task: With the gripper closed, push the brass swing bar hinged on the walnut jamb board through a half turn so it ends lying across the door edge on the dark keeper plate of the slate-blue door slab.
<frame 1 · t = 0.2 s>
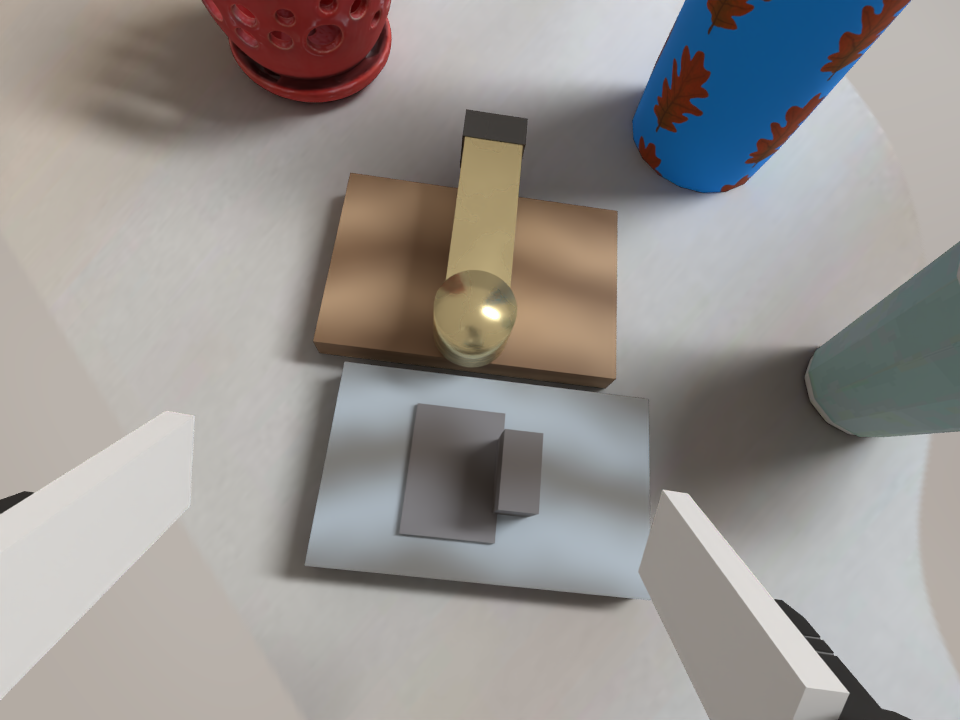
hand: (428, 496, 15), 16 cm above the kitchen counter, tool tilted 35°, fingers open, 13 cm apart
swing bar: (482, 235, 31), point 5 cm above the kitchen counter, hinge at 0.0°
disposable coffee cup: (849, 389, 35), on the kitchen counter
plant pot: (315, 60, 40), on the kitchen counter
door and jamb: (467, 348, 34), on the kitchen counter
thermos: (695, 138, 41), on the kitchen counter
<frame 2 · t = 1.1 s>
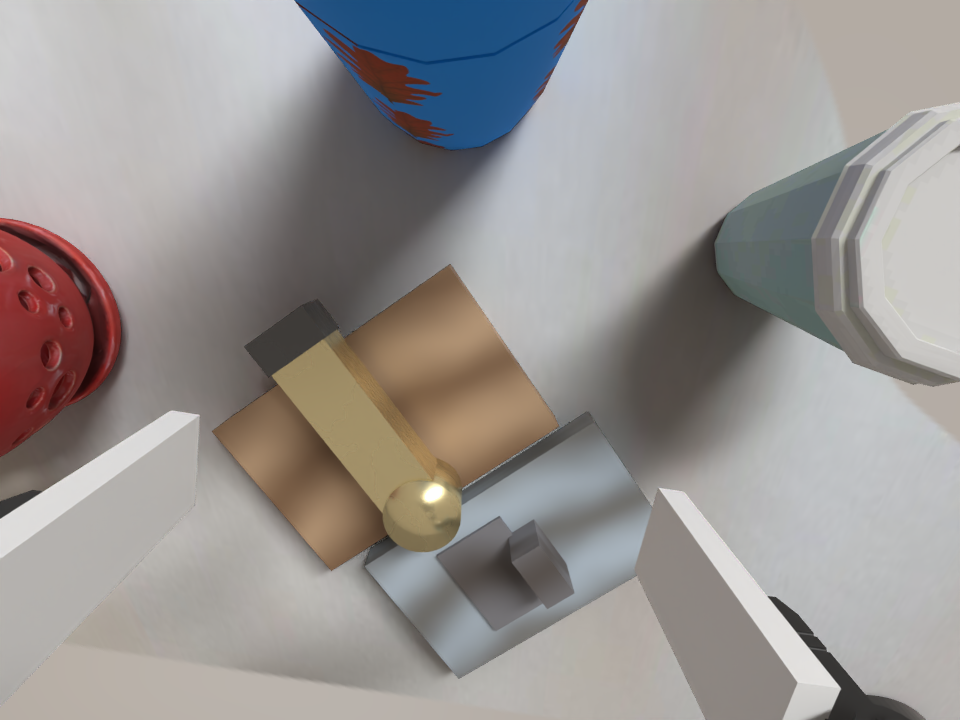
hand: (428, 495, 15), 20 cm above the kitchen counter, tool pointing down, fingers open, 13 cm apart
swing bar: (368, 431, 30), point 5 cm above the kitchen counter, hinge at 0.0°
disposable coffee cup: (764, 242, 33), on the kitchen counter
plant pot: (47, 319, 33), on the kitchen counter
door and jamb: (430, 469, 36), on the kitchen counter
thermos: (455, 53, 30), on the kitchen counter
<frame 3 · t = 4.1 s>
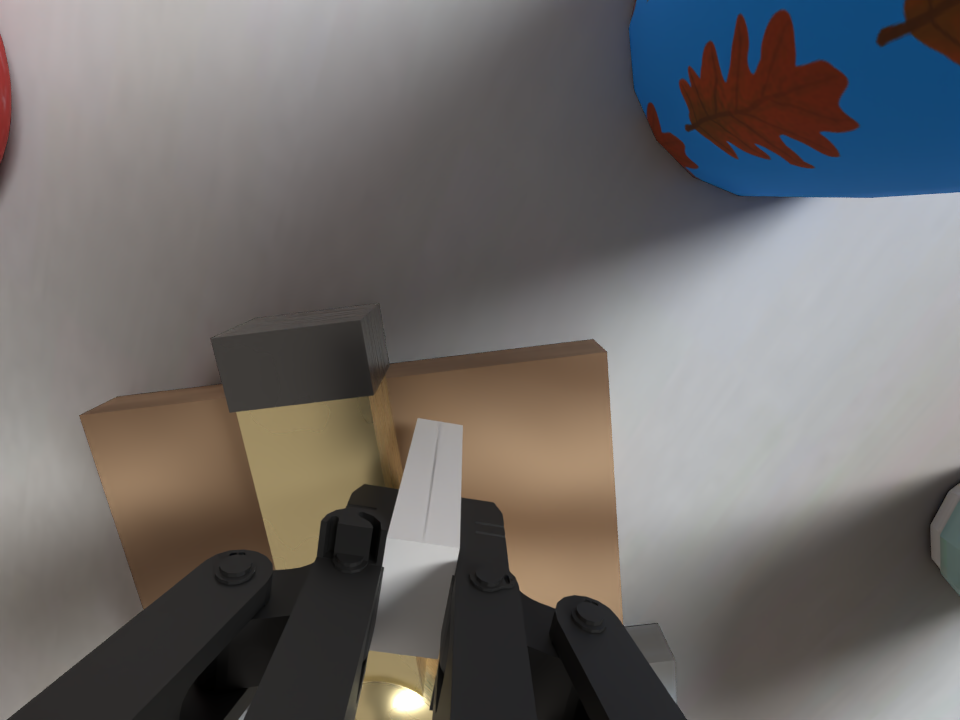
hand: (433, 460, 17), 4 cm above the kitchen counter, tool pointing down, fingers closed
swing bar: (353, 557, 17), point 5 cm above the kitchen counter, hinge at 0.0°, touching gripper
door and jamb: (398, 604, 22), on the kitchen counter
thermos: (783, 34, 17), on the kitchen counter
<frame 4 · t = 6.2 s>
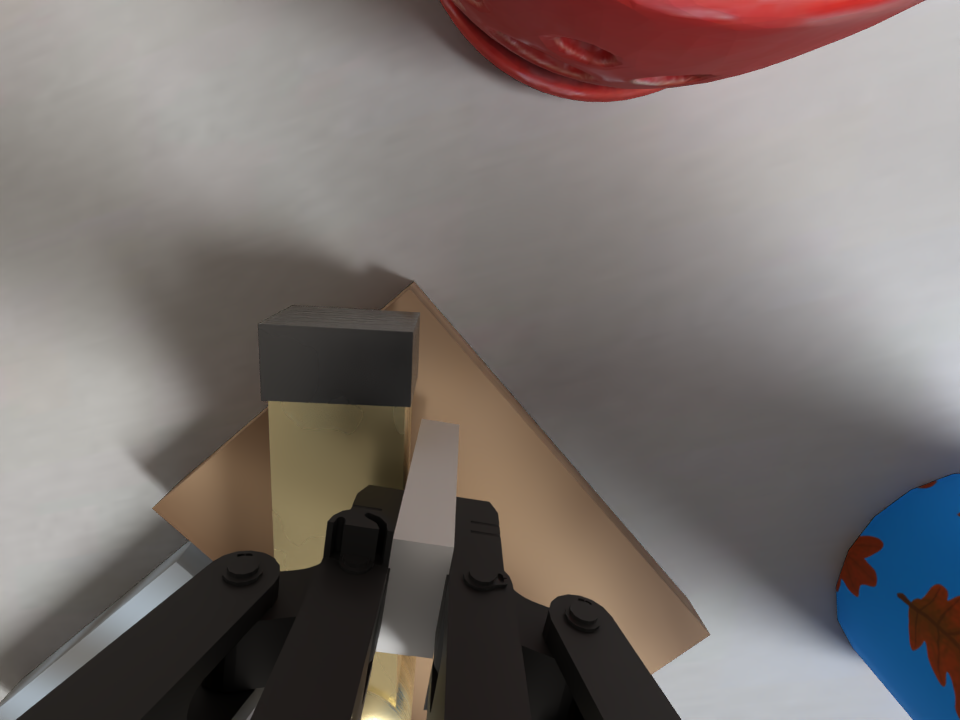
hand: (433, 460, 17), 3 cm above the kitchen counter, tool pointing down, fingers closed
swing bar: (347, 558, 17), point 5 cm above the kitchen counter, hinge at 46.8°, touching gripper
door and jamb: (368, 605, 22), on the kitchen counter
thermos: (946, 575, 24), on the kitchen counter
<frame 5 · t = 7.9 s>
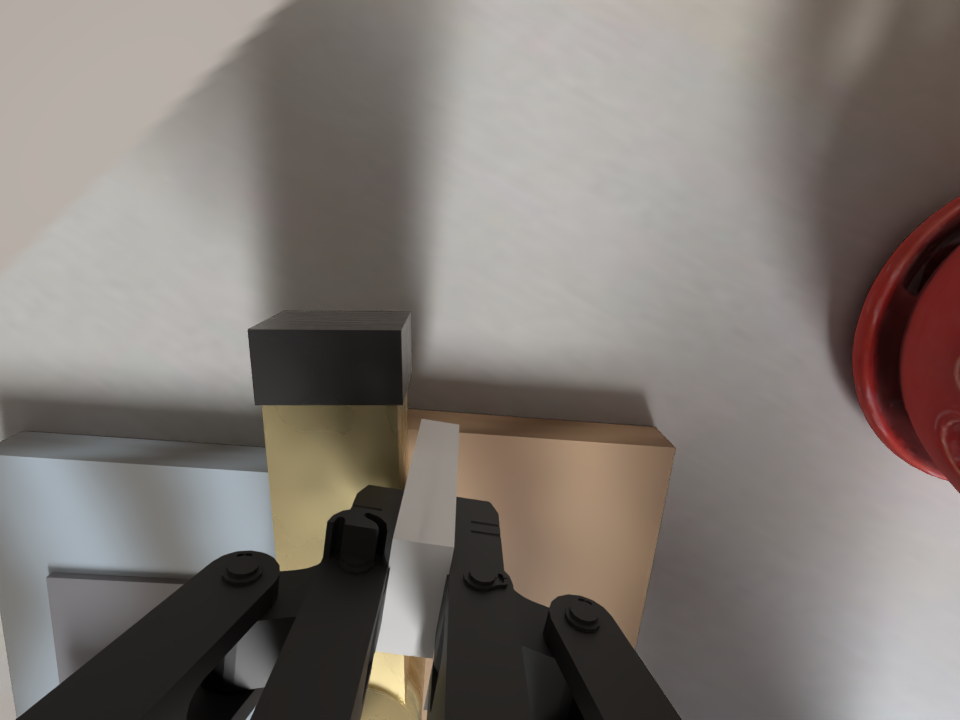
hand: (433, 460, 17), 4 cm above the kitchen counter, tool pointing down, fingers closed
swing bar: (351, 559, 17), point 4 cm above the kitchen counter, hinge at 94.6°, touching gripper
door and jamb: (377, 607, 22), on the kitchen counter
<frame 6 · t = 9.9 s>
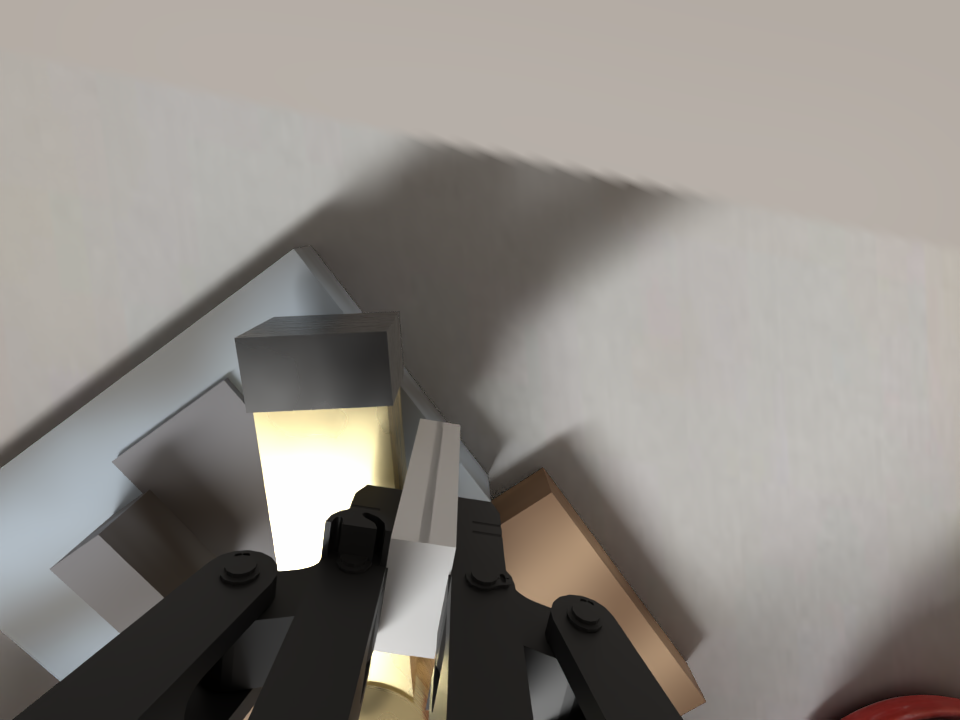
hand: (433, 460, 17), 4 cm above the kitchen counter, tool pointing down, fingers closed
swing bar: (353, 560, 17), point 5 cm above the kitchen counter, hinge at 147.4°, touching gripper
door and jamb: (386, 605, 23), on the kitchen counter
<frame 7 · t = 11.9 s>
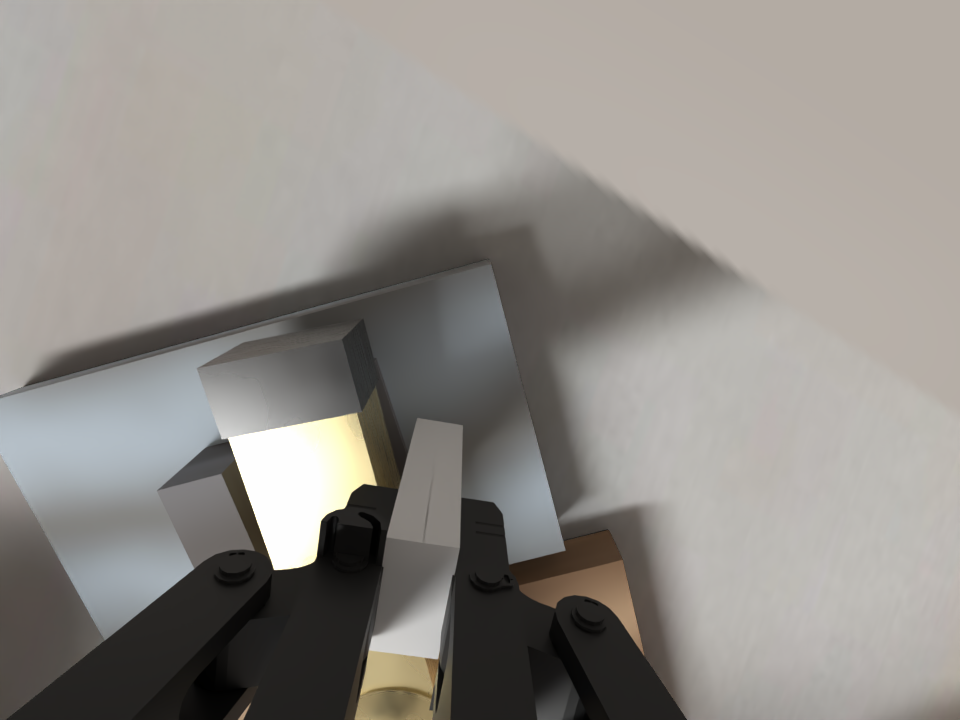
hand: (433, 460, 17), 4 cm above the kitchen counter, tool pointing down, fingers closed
swing bar: (358, 569, 17), point 5 cm above the kitchen counter, hinge at 176.2°
door and jamb: (411, 610, 23), on the kitchen counter
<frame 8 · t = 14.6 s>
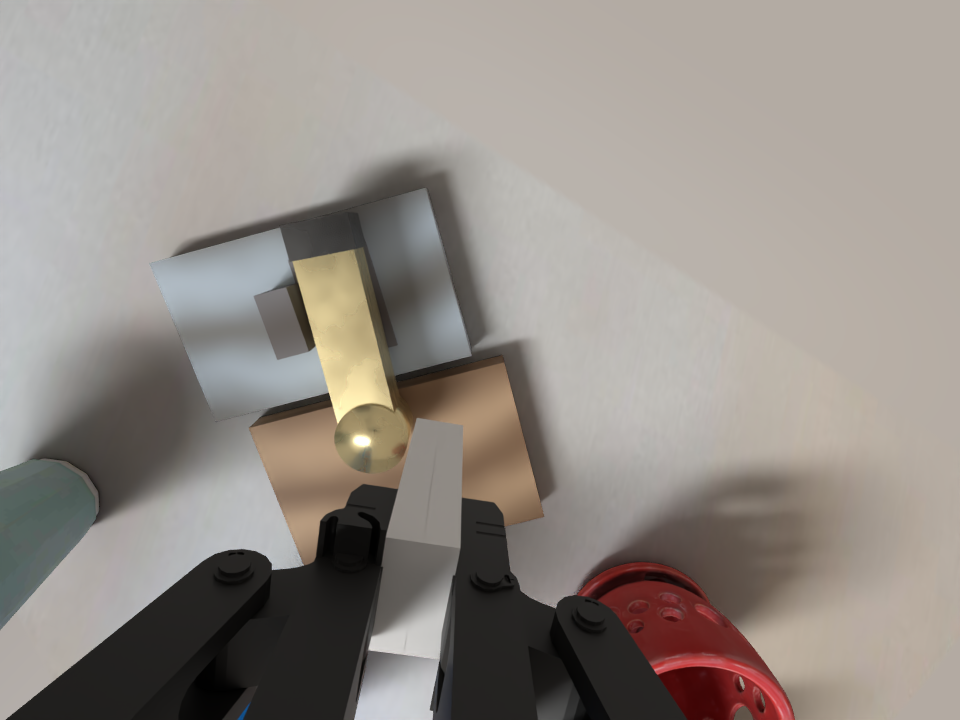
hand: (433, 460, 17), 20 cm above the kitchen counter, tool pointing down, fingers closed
swing bar: (354, 347, 32), point 5 cm above the kitchen counter, hinge at 176.2°
disposable coffee cup: (57, 497, 39), on the kitchen counter
plant pot: (631, 608, 43), on the kitchen counter
door and jamb: (386, 405, 38), on the kitchen counter
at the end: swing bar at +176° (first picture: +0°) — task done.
